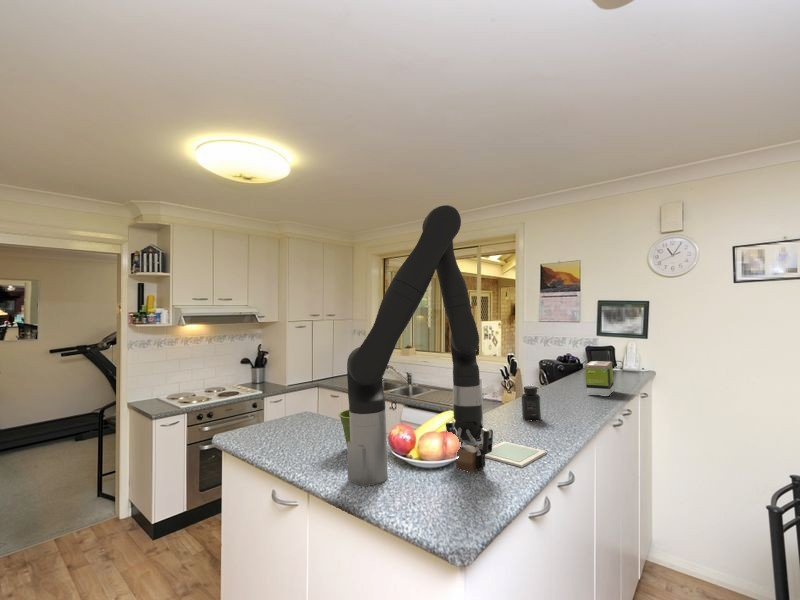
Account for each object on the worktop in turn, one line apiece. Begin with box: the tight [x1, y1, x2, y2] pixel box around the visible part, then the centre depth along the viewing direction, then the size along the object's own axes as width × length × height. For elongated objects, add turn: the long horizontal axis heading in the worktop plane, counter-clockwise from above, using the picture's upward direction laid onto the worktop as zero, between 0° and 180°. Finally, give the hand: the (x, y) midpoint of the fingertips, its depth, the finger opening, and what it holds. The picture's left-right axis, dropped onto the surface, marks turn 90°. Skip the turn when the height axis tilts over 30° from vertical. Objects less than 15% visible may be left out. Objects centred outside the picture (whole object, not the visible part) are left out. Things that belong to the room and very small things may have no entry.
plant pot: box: [338, 409, 350, 445], centre depth 124 cm, size 12×12×11 cm
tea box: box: [584, 360, 615, 396], centre depth 191 cm, size 15×10×15 cm, turn 144°
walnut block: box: [455, 444, 480, 474], centre depth 105 cm, size 5×5×5 cm
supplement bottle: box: [520, 385, 542, 422], centre depth 151 cm, size 7×7×12 cm
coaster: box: [485, 440, 548, 468], centre depth 114 cm, size 14×14×1 cm
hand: (470, 465), depth 105 cm, fingers open, 6 cm apart
